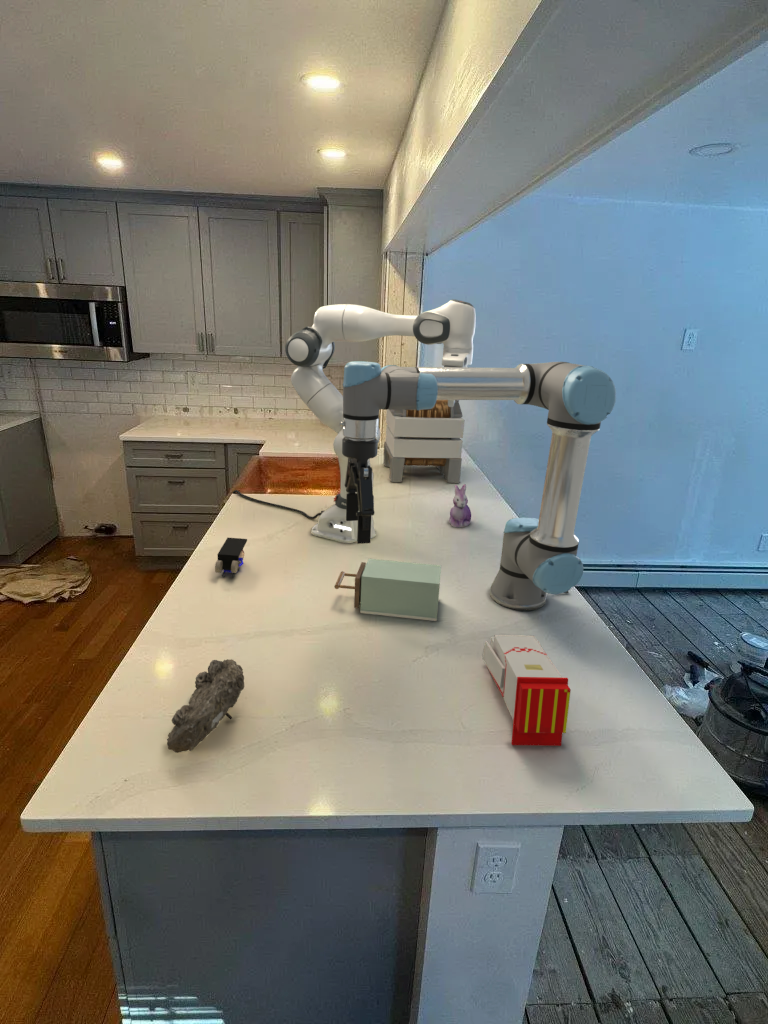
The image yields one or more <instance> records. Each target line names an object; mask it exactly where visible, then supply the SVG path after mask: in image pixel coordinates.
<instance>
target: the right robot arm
mask: <svg viewBox="0 0 768 1024" xmlns="http://www.w3.org/2000/svg"><path fill="white" fill-rule="evenodd" d="M616 389H617V388H616V386H615V383H614V381H613V380H612V378H611V377H610V375H609V374H608V373H607V372H605V371H603V370H601V369H599V368H597V367H595V366H591V365H585V364H579V363H578V364H577V363H571V362H567V361H549V362H537V363H519V364H518V365H516V367H469V366H467V367H444V366H398V365H397V364H388V365H384V366H383V367H381V364H380V363H378V362H375V361H363V360H362V361H361V360H356V361H349V362H346V364H345V365H344V369H343V381H342V396H343V420H344V422H340V426H343V435H344V436H345V437H344V438H343V439H342V454H343V455H344V456H345V457H347V458H348V465H347V472H346V480H345V488H346V491H347V493H348V494H347V497H346V521H358V532H357V542H356V543H357V545H361V544H362V545H363V544H371V540H372V539H371V515H373V516H375V502H374V503H373V496H374V487H373V488H372V472H373V467H372V466H371V467H370V466H368V462H367V461H368V459H374V458H376V457H377V455H378V451H379V450H378V448H379V442H378V440H377V439H376V437H377V436H378V431H379V429H380V427H379V426H380V410H385V411H387V409H399V410H417V411H419V410H425V409H431V408H433V407H434V405H435V403H436V400H459V401H513V402H515V404H517V405H527V406H528V405H529V406H535V407H539V408H542V409H545V410H548V413H547V418H546V425H547V426H548V428H549V429H550V431H551V438H550V445H549V451H548V457H547V464H546V469H545V470H546V471H545V476H544V483H543V490H542V496H541V502H540V509H539V516H538V518H535V517H514V518H511V519H508V520H507V521H506V522H505V525H504V528H503V531H502V532H503V538H502V547H501V555H500V563H499V569H498V571H497V573H496V575H495V577H494V579H493V581H492V583H491V586H490V589H489V595H490V598H491V599H492V600H493V601H494V602H495V603H496V604H498V605H500V606H503V607H504V608H508V609H511V610H516V611H534V610H538V609H541V608H542V607H544V606H545V604H546V602H547V594H550V595H560V594H569V591H570V590H571V589H572V588H574V587H576V585H577V584H578V583H579V582H580V581H581V579H582V577H583V574H584V564H583V562H582V560H581V558H580V556H578V550H579V543H580V539H579V537H578V536H577V535H576V533H575V529H576V524H577V518H578V512H579V507H580V501H581V497H582V496H581V495H582V490H583V483H584V479H585V473H586V468H587V462H588V456H589V450H590V446H591V445H590V444H591V439H592V436H593V435H594V434H596V433H597V432H599V431H600V429H601V424H602V422H603V421H605V420H606V419H607V418H608V417H607V416H609V415H611V414H612V411H613V410H614V408H615V405H616V401H617V390H616ZM355 492H357V493H355ZM358 504H359V512H358ZM365 509H368V510H365Z"/></svg>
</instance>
